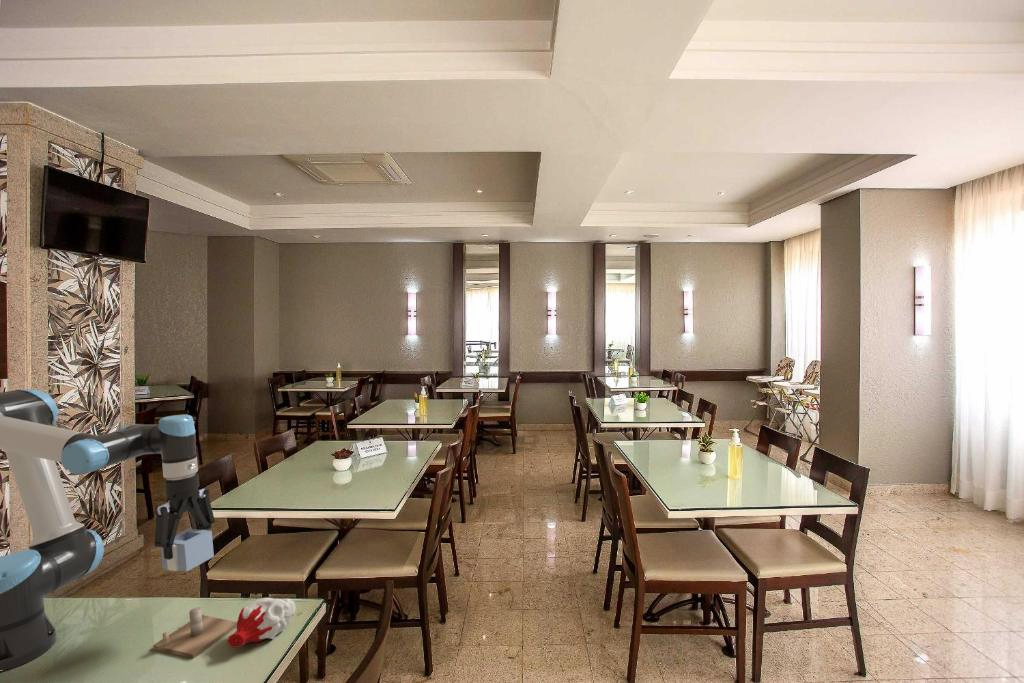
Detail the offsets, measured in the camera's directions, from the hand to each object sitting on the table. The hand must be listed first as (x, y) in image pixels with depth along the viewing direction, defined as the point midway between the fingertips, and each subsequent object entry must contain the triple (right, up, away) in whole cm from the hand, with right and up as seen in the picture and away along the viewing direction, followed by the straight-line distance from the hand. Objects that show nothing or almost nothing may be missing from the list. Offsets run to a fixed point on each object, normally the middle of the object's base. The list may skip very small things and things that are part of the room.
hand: (188, 561), depth 132 cm
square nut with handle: (-2, 0, +1) cm, 2 cm away
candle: (+21, -18, -4) cm, 28 cm away
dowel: (-1, -18, -8) cm, 20 cm away
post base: (+4, -18, -3) cm, 19 cm away
